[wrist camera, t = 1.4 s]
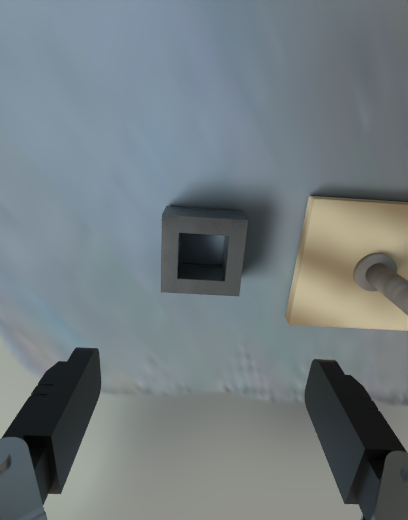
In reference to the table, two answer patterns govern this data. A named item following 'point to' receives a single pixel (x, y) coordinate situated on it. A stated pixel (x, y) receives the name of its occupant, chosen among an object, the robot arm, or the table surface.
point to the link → (196, 275)
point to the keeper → (351, 265)
